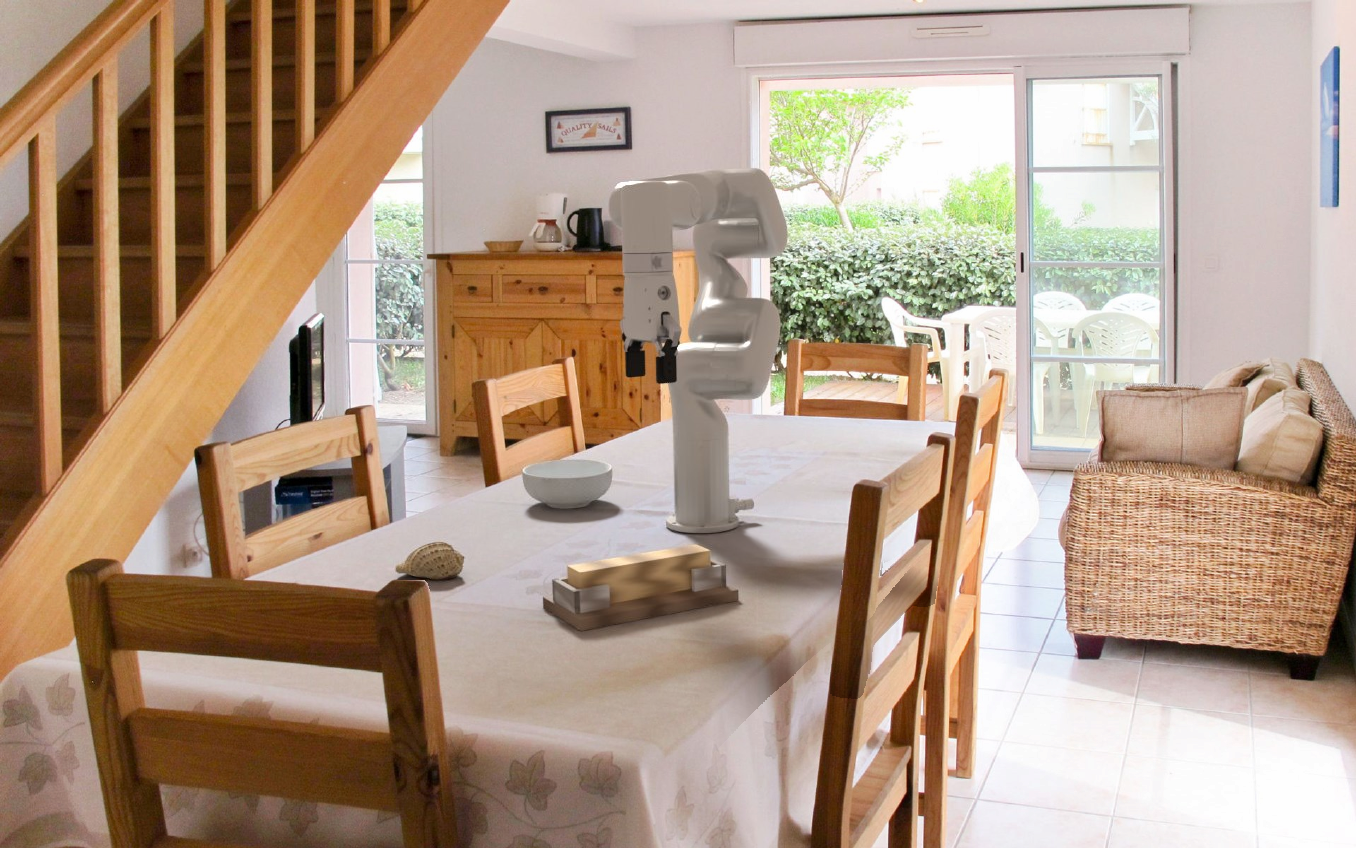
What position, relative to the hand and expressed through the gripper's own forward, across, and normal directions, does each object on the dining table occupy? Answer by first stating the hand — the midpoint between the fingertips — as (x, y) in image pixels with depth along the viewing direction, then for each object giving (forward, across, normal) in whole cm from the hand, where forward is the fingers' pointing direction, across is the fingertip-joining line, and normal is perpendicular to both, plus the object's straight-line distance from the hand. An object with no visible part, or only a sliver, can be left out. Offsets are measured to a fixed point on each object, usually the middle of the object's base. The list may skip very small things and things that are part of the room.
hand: (650, 379), depth 188 cm
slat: (+27, -18, +12) cm, 34 cm away
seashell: (+29, +12, +32) cm, 45 cm away
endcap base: (+28, -18, +12) cm, 36 cm away
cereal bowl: (+29, +45, -6) cm, 54 cm away
